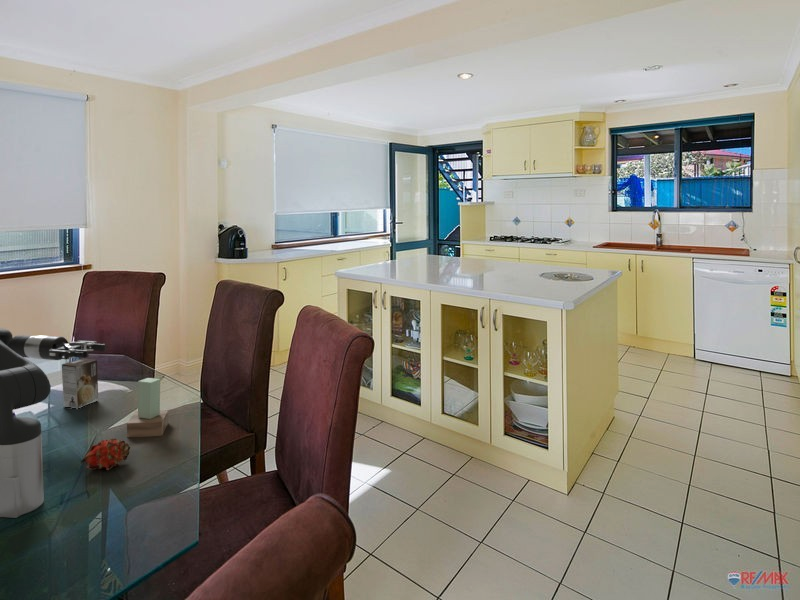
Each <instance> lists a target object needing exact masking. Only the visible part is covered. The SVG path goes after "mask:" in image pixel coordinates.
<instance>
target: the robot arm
mask: <svg viewBox="0 0 800 600" xmlns="http://www.w3.org/2000/svg"><path fill="white" fill-rule="evenodd" d="M93 351H95V352H105V351H107V344H105V343H97V341H96V340H77V341H70V342H69V341H68V340H67V339H66V338H65V337H64V336H54V335H53V336H52V335H28V334H19V335H15V336H13V333H12V332H11V331H10V329H6V328H1V327H0V518H10V519H11V518H13V519H15V518H16V519H17V518H18V517H20V516H22V515H25V514H28V513H31V512H32V511H35V510H37V509H38V508H39V507H41V506H42V505H43V503H44V502H45V501H44V500H45V497H44V472H43V445H42V443H43V442H42V441H43V440H42V439H43V438H42V424H41V421H39V420H38V419H37V418H33V417H23V416H21V417H19V416H18V417H17V416H15V415H14V412H13V411H14V410H18V409H19V410H20V409H21V408H26V407H30V406H33V405H37V404H39V403H41V402H43V401H45V400H46V399H48V397H49V395H50V393H51V383H50V382H51V381H50V380H49V378H48V376H47V374H46V373H45V371H44V370H42V369H41V368H40V367H39V366H38V365H37V364H35V363H33V362H32V361H30V360H28V359H29V358H30V359H35V360H45V361H46V360H47V361H48V360H49V361H61V360H69V359H74V358H80V359H82V358H84V359H88V357H89V352H93ZM27 358H28V359H27Z"/></svg>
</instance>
